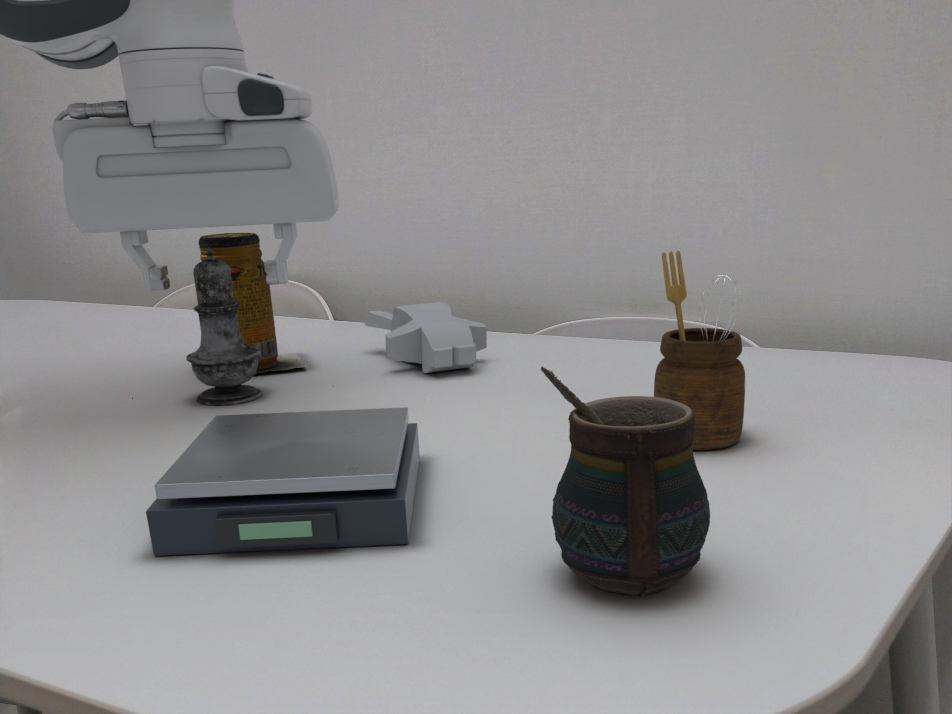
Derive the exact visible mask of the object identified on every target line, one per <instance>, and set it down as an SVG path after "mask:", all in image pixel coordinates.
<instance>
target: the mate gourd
mask: <svg viewBox="0 0 952 714" xmlns="http://www.w3.org/2000/svg"><path fill="white" fill-rule="evenodd" d="M540 371H541V372H542V373H543V374H544V376H545V377H546V378H547V379H548V381H549V382H551V384H552V385H553V386H554V387H555V388H556V389H557V391H558V392H559V393H560V395H561V396H562V397H563V399H565V400H566V401H567V402H568V403H569V404H571V405H572V406H573V407H574V408H573V409H572V410H571V412H569V415H568V418H567V419H568V424H569V429H568V430H569V431H568V432H569V433H568V434H569V435H568V440H569V442H570V452H569V456H568V460H567V463H566V465H565V468H564V471H563V473H562V475H561V477H560V480H559V481H558V483H557V486H556V489H555V494H554V497H553V498H552V511H551V513H552V514H551V516H550V517H551V519H552V526H553V530H554V536H555V539H554V540H555V541H556V542H557V544H558V546H559V548H560V550H561V553H560V556H561V559H562V561H563V562H564V564H566V566H567V567H568V568H569V569H570V570H571V571H572V572H573V573H574V574H575V575H576V576H578V577H579V578H581V579H582V580H583V581H585V582H586V583H587V584H589V585H591V586H592V587H594V588H597V589H600V590H602V591H605V592H610V593H611V592H612V593H617V594H624V595H625V594H627V595H632V596H633V597H636V596H638V595H639V596H642V597H643V598H645V597H646V595H649V594H653V593H654V594H655V593H657V592H662V591H664V590H666V589H669V588H670V587H671V586H673V585H674V584H676V583H678V582H679V581H680V580H682V579H683V578H685V577H686V576H688V574H689V573H690V572H691V571H692V570H693V568H695V566H696V565H697V564H698V562H699V561H700V559H701V551H702V550H703V547H704V544H705V542H706V538H707V535H708V532H709V529H710V524H711V509H710V501H709V499H708V497H709V495H708V492H707V489H706V486H705V484H704V481H703V479H702V476H701V474H700V472H699V469H698V466H697V464H696V460H695V456H694V450H693V449H692V442H693V440H694V438H695V427H694V423H695V417H696V416H695V413H694V411H693V409H692V408H690V407H689V406H687V405H685V404H682V403H680V402H677V401H673V400H670V399H665V398H659V397H654V396H649V395H632V396H631V395H625V396H624V395H623V396H613V397H605V398H600V399H595V400H592V401H587V402H584V401H582V400H581V399H580V398H579V397H578V396H577V395H576V394H575V393H574V392H573V391H571V389H570V388H569V387H568V386H567V385H565V384H564V383H563V382H562V380H561V379H558V376H556V374H554V372H553V370H551V371H550V369H547V368H546V367H544V366H541V367H540Z"/></svg>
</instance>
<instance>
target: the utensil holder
mask: <svg viewBox="0 0 952 714" xmlns="http://www.w3.org/2000/svg"><path fill="white" fill-rule="evenodd" d="M674 255H675V256H674ZM675 257H676V258H675ZM675 259H676V262H675ZM668 260H669V265H668ZM661 262H662V270H663V278H664V279H663V280H664V287H665V295H666V299H667V301H668V302H670V303H672V304H673V305H674V308H675V316H676V324H677V329H673V330H669V331H666V332H665V333H663V334H662V336H661V340H660V346H659V352H660V354H661V355H662V356H663V357H664V358H661V360H660V361H659V362H658V364H657V366H656V369H655V372H654V383H653V397H659V398H665V399H670V400H673V401H677V402H680V403H682V404H685V405H687V406H689V407H690V408H692V409H693V411H694V413H695V416H696V417H695V423H694V427H695V438H694V440H693V442H692V449H693V451H706V450H707V451H709V450H710V451H711V450H718V449H723V448H727V447H731V446H732V445H734V444H736V443H737V442H738V441H740V438H741V437H742V433H743V428H744V417H745V416H744V415H745V400H746V371H745V366H744V365H743V362H742V361H741V360H740V359H739V357H740V356H741V354H742V352H743V343H742V337H741V334H740V333H738V332H736V331H734V330H733V328H734V326H735V323H736V321H737V318H738V315H739V309H740V303H741V296H742V291H741V287H740V284H739V282H738V281H737V279H735V278H734V277H733V276H732V275H726V274H718V275H716V276H713V277H712V278H711V279H709V281H708V282H707V283H706V284H705V286H704V289H703V291H702V296H701V301H700V306H699V313H701V310H702V303H703V298H704V295H705V290H706V288H707V285H709V283H710V282H711V283H710V285H709V288H708V289H709V290H708V293H707V298H706V303H705V309H704V318H703V327H702V322H701V319H699V326H700V327H689V328H688V327H686V328H685V325H684V318H683V317H684V316H683V310H682V302H684V301H685V299H686V298H687V296H688V295H687V286H686V280H685V274H684V268H683V267H684V266H683V262H682V254H681V251H680V250H676V252H675V254H674V252H673V251H669V252H668V258H667V253H666V252H665V251H663V252H661ZM675 263H676V264H675ZM676 266H677V269H676ZM669 268H670V270H669ZM716 278H717V279H716ZM721 278H723V283H722V288H721V294H720V299H719V305H718V312H717V316H716V322H715V327H706V325H707V308H708V301H709V298H710V293H711V290H712V288H713V286H714V285H715V283H716V282H718V281H719V279H721ZM726 278H727V279H729V280H730V282H731V284H732V287H733V291H734V296H733V303H732V308H731V311H730V316H729V319H728V321H727V324H726V326H725V328H724V329H723V328H717V327H718V321H719V316H720V310H721V304H722V300H723V294H724V288H725V282H726ZM715 279H716V280H715ZM714 280H715V281H714ZM732 280H733V281H732ZM733 282H734V283H733ZM737 285H738V289H739V300H738V306H737V311H736V315H735V319H734V322H733V324H732V326H731V327H730V325H731V321H732V318H733V313H734V309H735V308H734V307H735V302H736V293H737ZM729 327H730V329H729Z"/></svg>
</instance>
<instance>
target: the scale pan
mask: <svg viewBox="0 0 952 714" xmlns="http://www.w3.org/2000/svg"><path fill="white" fill-rule="evenodd" d="M409 419H410V418H409V408H408V407H385V408H384V407H383V408H382V407H381V408H361V409H338V410H335V409H333V410H314V411H290V412H289V411H288V412H266V413H245V414H244V413H243V414H221V415H220V414H219V415H218V414H217V415H215V416H214V418H212V420H211V421H210V422H209V423H208V424H207V425H206V427H204V429H203V430H202V431H201V432H200V433H199V434H198V435H197V436H196V438H195V439H194V440H193V441H192V442H191V444H190V445H189V446H188V447H187V448H186V449H185V450H184V451H183V452H182V454H181V455H180V456H179V457H178V458H177V459H176V460H175V462H173V464H171V466H170V467H169V468H168V470H166V471H165V473H164V474H163V475H162V476H161V477H160V478H159V480H158V481H157V482H156V483H155V484H154V490H155V496H156V499H158V500H159V499H181V498H203V497H225V496H247V495H269V494H291V493H313V492H335V491H357V490H379V489H395V486H396V481H397V476H398V471H399V466H400V460H401V455H402V450H403V445H404V440H405V435H406V430H407V424H408V423H409Z"/></svg>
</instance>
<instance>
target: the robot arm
mask: <svg viewBox="0 0 952 714" xmlns="http://www.w3.org/2000/svg"><path fill="white" fill-rule="evenodd" d="M234 2H235V0H0V36H1V37H2V38H4V39H6V40H7V41H9V42H11V43H14V44H16V45H18V46H20V47H23V48H24V49H27V50H29V51H32V52H34V53H35V54H37V56H39V57H41V58H43V60H46V61H48V62H49V63H51V64H54V65H57V66H59V67H62V68H66V69H71V70H90V69H96V68H99V67H102V66H105V65H106V64H109V63H111V62H112V61H114V60H115V59H117V58H118V61H119V66H120V71H121V78H122V84H123V89H124V95H125V100H109V101H108V100H107V101H101V102H95V103H87V102H74V103H70V104H68V105H67V109H64V110H61V112H59V113H58V114H57V115H56V116H55V118H54V120H53V123H52V127H51V128H52V129H51V130H52V135H53V140H54V146H55V150H56V153H57V155H58V157H59V159H60V161H61V162H62V183H63V192H64V194H63V195H64V202H65V209H66V215H67V219H68V221H69V223H70V224H71V225H72V226H73V227H74V228H75V229H76V230H77V231H78V232H79V233H81V234H85V235H86V234H103V233H119V236H120V241H121V247H122V248H123V250H124V251H125V252H126V254H128V256H129V258H131V260H132V261H133V262H134V263H135V265H136V266H137V267H138V269H140V270H141V274H142V279H143V284H144V288H145V290H146V292H158V291H167V290H169V289H170V287H171V282H170V279H169V277H168V276H169V271H168V270H169V269H168V265H167V264H163V265H161V264H160V265H157V263H156V262H155V261H154V260H153V258H152V257H151V256H150V254H149V252H148V251H147V250H146V248H145V247H144V246H143V245H146V244H148V243H149V237H148V231H159V230H162V231H163V230H181V229H201V228H218V227H237V226H238V227H240V226H242V227H243V226H259V225H261V226H263V225H272V226H273V232H274V233H273V234H274V238H275V239H276V240H281V243H280V246H279V247H278V250H277V253H276V255H275V258H274V259H266V261H263V262H264V268H265V272H266V273H267V275H266V282H267V285H270V286H273V285H287V284H288V283H289V271H288V264H287V263H288V262H287V260H288V258H289V256H290V254H291V252H292V250H293V247H294V245H295V242H296V240H297V239H298V238H297V237H298V231H297V223H299V224H300V223H316V222H317V223H318V222H319V223H321V222H327V221H329V220H331V219H332V218H333V217H335V215H336V213H337V212H338V211H339V207H340V198H339V191H338V190H339V189H338V184H337V179H336V174H335V173H336V172H335V169H334V165H333V160H332V157H331V152H330V148H329V146H328V142H327V140H326V138H325V136H324V133H322V131H321V130H320V128H319V127H318V126H316V125H315V124H314V123H313V122H310V121H308V120H305V119H307V118H309V117H310V116H311V115H312V112H313V102H312V101H313V100H312V95H311V93H310V92H309V91H308V90H307V89H305V88H303V87H301V86H299V85H296V84H293V83H290V82H286V81H282V80H278V79H275V77H274V76H272V75H269V74H266V73H261V72H258V73H257V74H256V73H252V72H249V68H248V67H247V62H246V55H245V48H244V43H243V40H242V38H241V36H240V34H239V31H238V28H237V25H236V20H235V13H234V12H235V11H234ZM67 117H69V118H70V119H65V118H67Z"/></svg>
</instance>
